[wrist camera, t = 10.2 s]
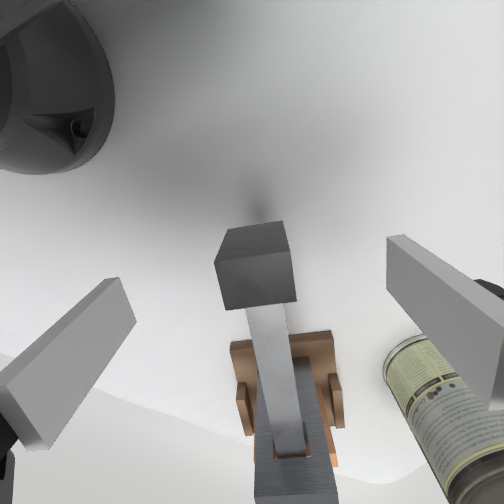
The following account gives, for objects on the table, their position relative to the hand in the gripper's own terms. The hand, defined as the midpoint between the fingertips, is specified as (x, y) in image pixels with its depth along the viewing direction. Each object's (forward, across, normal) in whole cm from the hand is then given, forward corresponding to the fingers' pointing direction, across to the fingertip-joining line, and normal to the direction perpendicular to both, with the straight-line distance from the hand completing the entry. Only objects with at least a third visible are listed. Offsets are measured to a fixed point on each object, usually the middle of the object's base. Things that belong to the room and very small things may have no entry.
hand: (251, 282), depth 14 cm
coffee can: (+15, +17, -23) cm, 32 cm away
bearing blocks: (+13, 0, -24) cm, 27 cm away
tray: (+15, 0, -23) cm, 27 cm away
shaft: (+7, 0, -9) cm, 11 cm away
